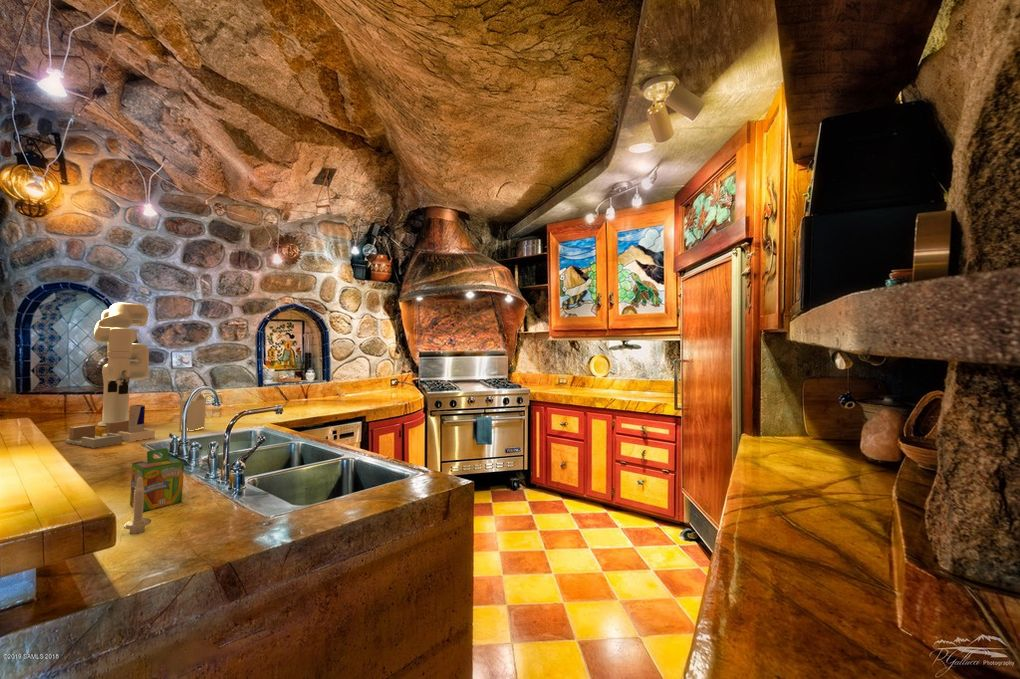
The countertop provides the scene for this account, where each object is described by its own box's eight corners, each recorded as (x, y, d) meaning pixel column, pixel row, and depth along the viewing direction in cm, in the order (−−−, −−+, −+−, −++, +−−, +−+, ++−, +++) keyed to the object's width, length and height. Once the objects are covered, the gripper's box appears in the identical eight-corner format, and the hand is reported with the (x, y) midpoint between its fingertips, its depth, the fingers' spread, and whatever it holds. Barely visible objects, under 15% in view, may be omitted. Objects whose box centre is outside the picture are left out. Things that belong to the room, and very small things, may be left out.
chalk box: (140, 513, 107) (143, 456, 107) (128, 505, 111) (131, 450, 112) (183, 502, 114) (186, 449, 115) (170, 495, 119) (172, 444, 120)
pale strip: (102, 436, 182) (102, 423, 182) (127, 433, 191) (128, 419, 191) (129, 442, 175) (130, 427, 175) (154, 437, 184) (155, 424, 184)
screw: (135, 527, 99) (156, 527, 99) (117, 536, 94) (138, 536, 94) (138, 473, 99) (158, 473, 99) (120, 479, 94) (141, 480, 94)
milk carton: (193, 431, 198) (195, 392, 198) (178, 431, 198) (180, 392, 198) (204, 428, 205) (206, 391, 205) (190, 428, 205) (192, 390, 205)
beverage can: (146, 438, 183) (147, 404, 183) (132, 440, 178) (134, 406, 178) (138, 437, 184) (140, 403, 185) (125, 439, 179) (126, 405, 180)
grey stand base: (65, 442, 171) (66, 427, 171) (94, 438, 179) (94, 424, 179) (93, 448, 164) (94, 432, 164) (121, 443, 172) (122, 428, 173)
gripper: (99, 354, 185) (97, 392, 185) (118, 356, 178) (116, 395, 177) (120, 354, 192) (118, 390, 192) (139, 356, 185) (138, 393, 184)
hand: (117, 393), depth 184 cm, fingers open, 9 cm apart
